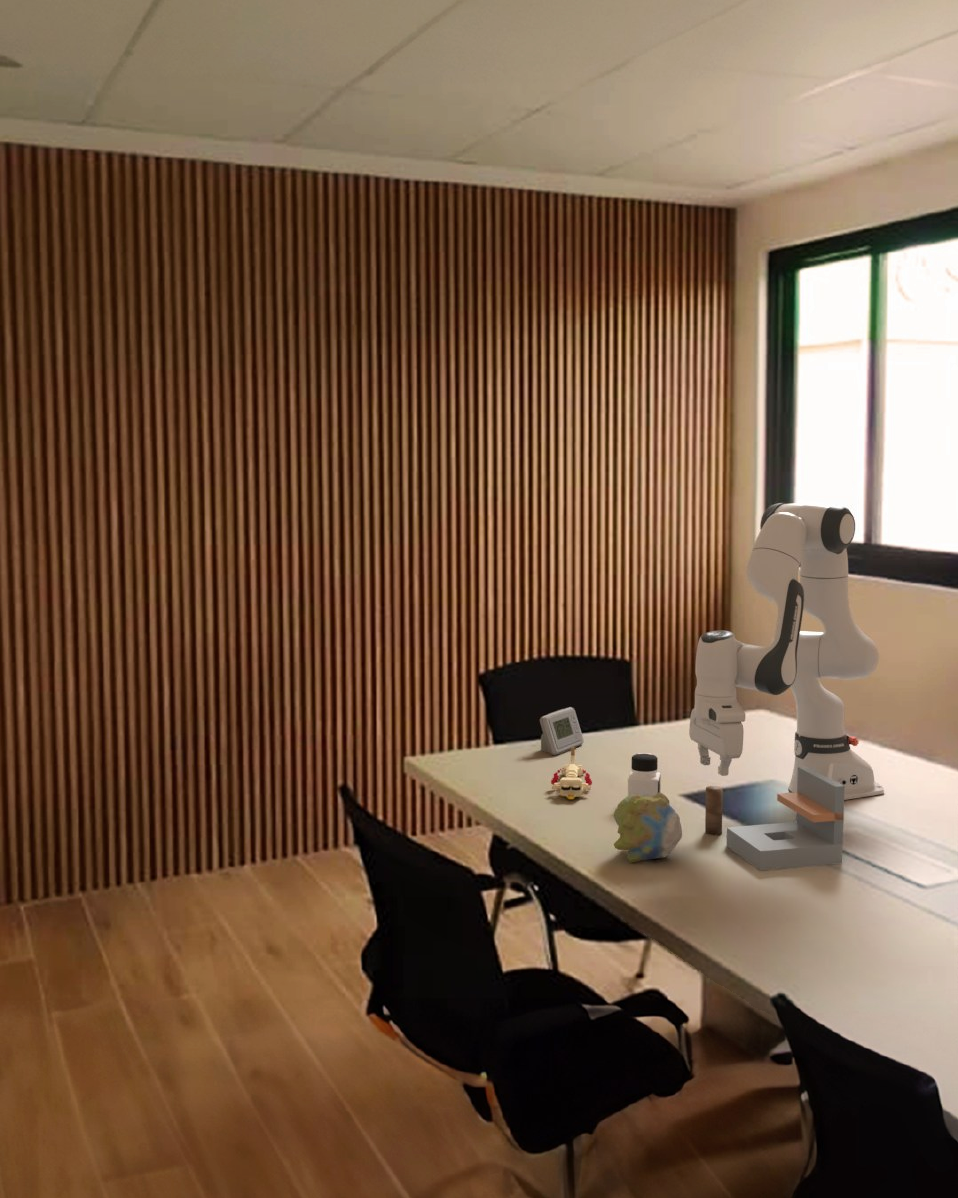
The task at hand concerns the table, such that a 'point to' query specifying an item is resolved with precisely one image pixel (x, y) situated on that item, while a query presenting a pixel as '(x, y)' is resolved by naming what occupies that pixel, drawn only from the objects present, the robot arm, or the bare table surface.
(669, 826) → the relief earth globe
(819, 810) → the station
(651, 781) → the medicine bottle
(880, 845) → the table surface
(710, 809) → the peg
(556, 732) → the digital clock
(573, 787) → the cream toy figure
